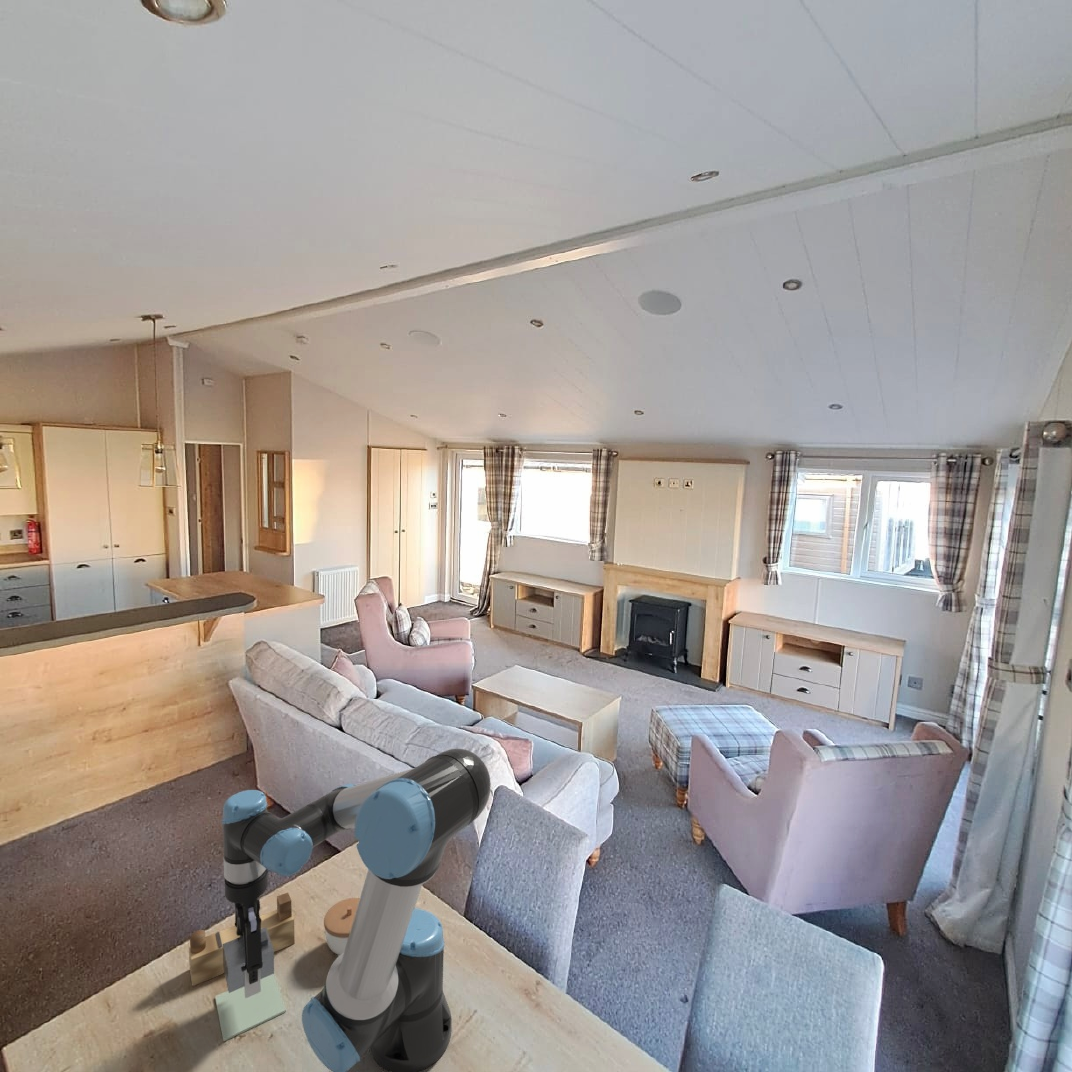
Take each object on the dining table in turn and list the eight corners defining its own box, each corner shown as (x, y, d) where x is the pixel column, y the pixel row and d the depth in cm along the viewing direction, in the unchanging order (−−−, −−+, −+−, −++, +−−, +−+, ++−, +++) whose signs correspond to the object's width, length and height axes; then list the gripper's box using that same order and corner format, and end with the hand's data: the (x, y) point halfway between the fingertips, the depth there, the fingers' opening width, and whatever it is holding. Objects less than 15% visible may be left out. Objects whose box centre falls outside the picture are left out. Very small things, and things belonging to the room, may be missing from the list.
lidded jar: (381, 930, 138) (381, 893, 137) (363, 969, 127) (363, 928, 126) (337, 925, 139) (336, 888, 138) (315, 963, 128) (315, 923, 127)
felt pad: (286, 1011, 117) (286, 1009, 117) (223, 1041, 110) (223, 1039, 110) (273, 972, 126) (273, 970, 126) (215, 997, 119) (215, 996, 119)
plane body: (289, 929, 137) (288, 889, 136) (294, 943, 133) (293, 902, 132) (189, 969, 126) (187, 926, 125) (192, 986, 122) (190, 941, 121)
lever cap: (274, 973, 117) (273, 945, 116) (228, 993, 112) (228, 964, 111) (266, 949, 122) (266, 922, 122) (223, 966, 118) (222, 939, 117)
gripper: (278, 896, 109) (280, 1008, 112) (257, 838, 125) (259, 937, 128) (233, 912, 104) (236, 1028, 107) (217, 850, 121) (220, 953, 123)
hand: (249, 979), depth 117 cm, fingers closed on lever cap, 7 cm apart
